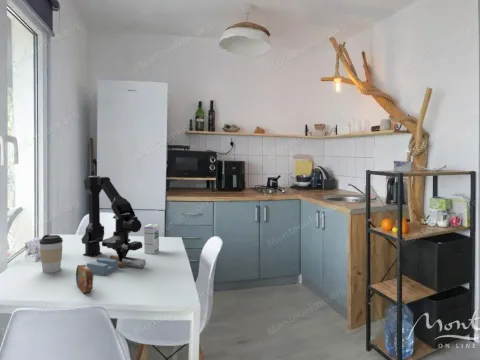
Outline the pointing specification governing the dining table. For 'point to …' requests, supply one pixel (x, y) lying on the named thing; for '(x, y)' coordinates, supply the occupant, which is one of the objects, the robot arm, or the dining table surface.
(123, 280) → the dining table surface
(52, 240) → the coffee cup
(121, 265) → the guide channel
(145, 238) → the syrup box
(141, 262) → the axle
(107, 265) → the v block
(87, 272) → the tin
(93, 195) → the robot arm
